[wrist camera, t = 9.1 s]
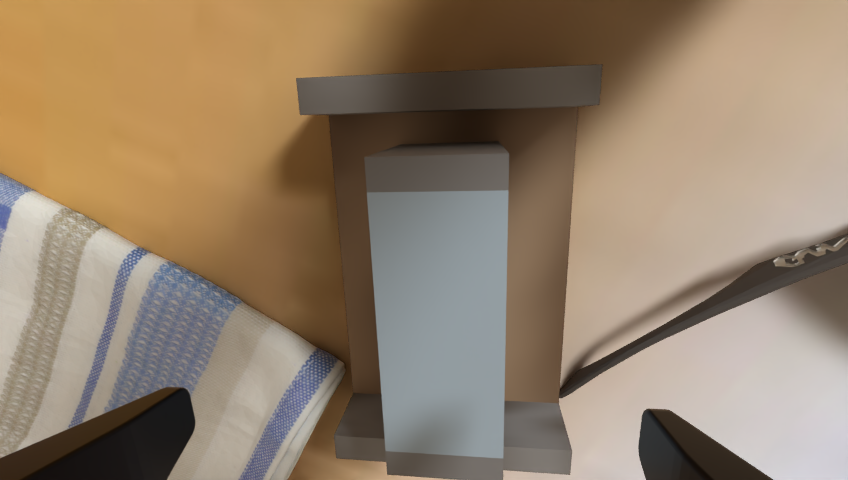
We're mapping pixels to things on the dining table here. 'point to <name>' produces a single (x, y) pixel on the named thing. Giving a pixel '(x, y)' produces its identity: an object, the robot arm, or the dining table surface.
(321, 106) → the cradle
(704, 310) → the sunglasses
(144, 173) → the dining table surface
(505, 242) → the light blue rectangular block
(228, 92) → the dining table surface
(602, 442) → the dining table surface
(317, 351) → the dish towel
